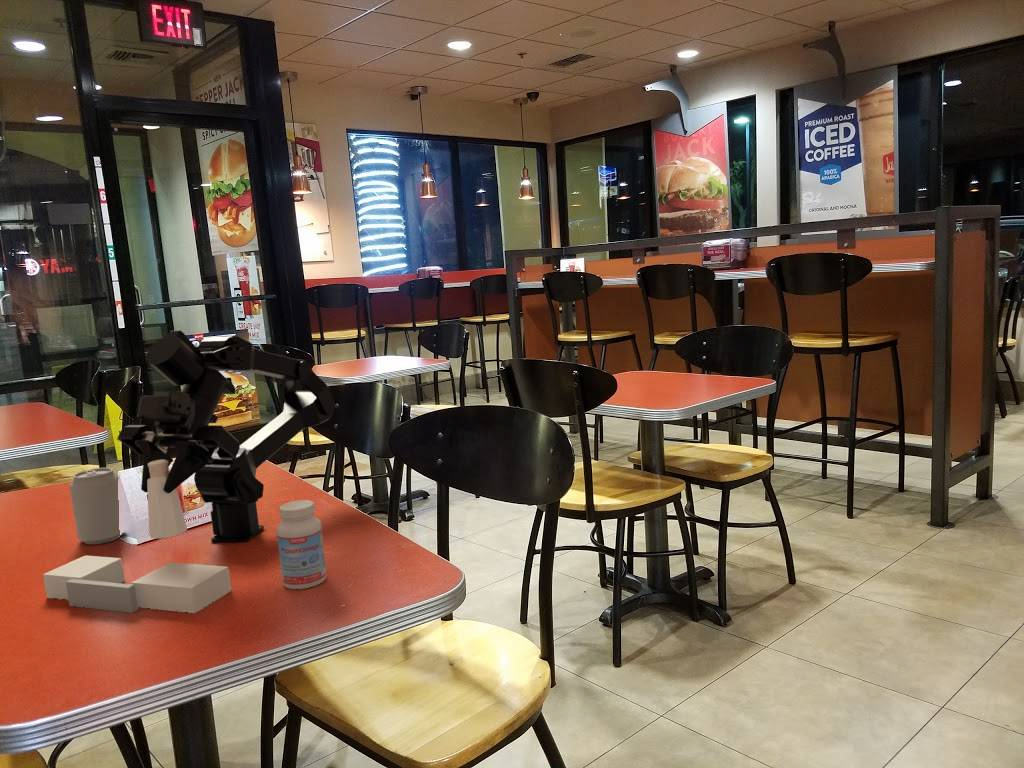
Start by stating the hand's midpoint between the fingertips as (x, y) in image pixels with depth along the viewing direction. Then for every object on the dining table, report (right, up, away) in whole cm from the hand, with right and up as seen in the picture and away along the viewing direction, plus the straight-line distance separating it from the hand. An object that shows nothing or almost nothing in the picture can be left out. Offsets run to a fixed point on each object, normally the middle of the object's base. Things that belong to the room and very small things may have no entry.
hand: (155, 491), depth 111 cm
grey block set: (0, -14, -6) cm, 15 cm away
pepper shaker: (+1, -7, +2) cm, 7 cm away
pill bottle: (+23, -12, -5) cm, 27 cm away
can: (-19, -11, +20) cm, 30 cm away
